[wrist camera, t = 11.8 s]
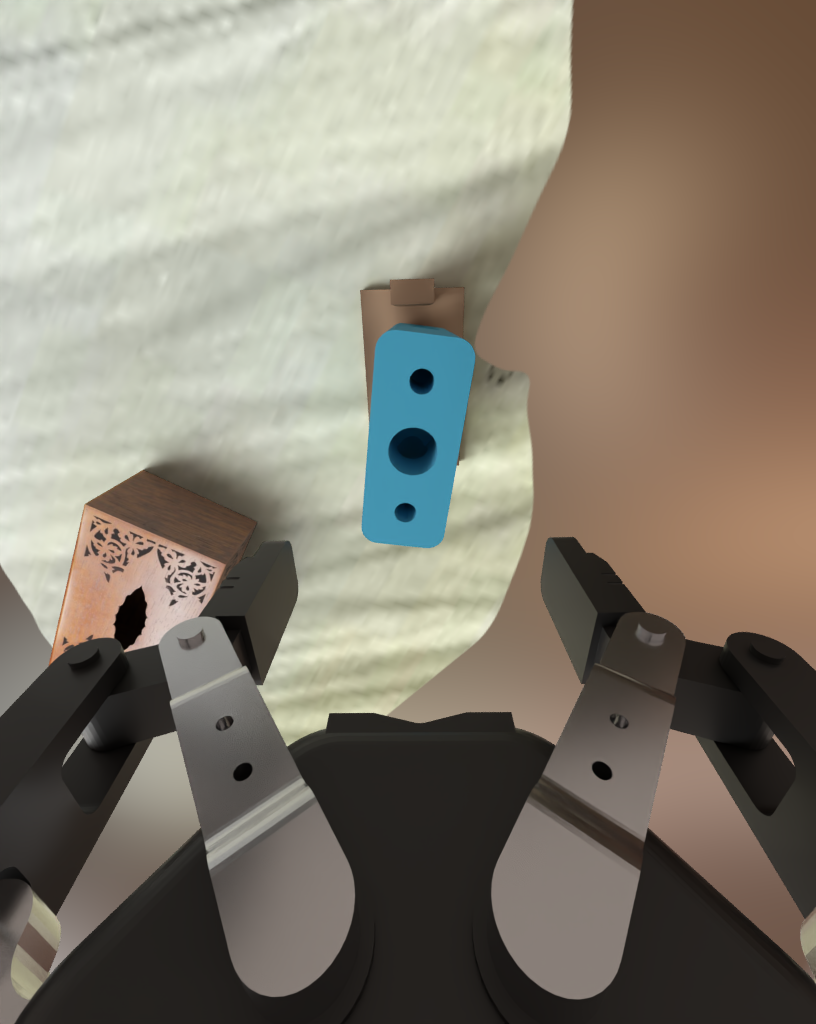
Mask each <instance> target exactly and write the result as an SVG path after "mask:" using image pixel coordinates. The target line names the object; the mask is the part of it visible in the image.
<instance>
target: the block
mask: <svg viewBox="0 0 816 1024" xmlns="http://www.w3.org/2000/svg"><path fill="white" fill-rule="evenodd" d="M474 365H475V353H474V350H473V348H472V346H471V345H470V344H469V342H467V341H466V340H464V339H462V338H460V337H459V336H457V335H455V334H453V333H451V332H449V331H448V330H446V329H444V328H438V327H431V326H423V325H415V324H407V323H398V324H396V325H394V326H393V327H392V328H390V329H389V330H388V331H386V332H385V333H384V334H382V335H381V337H380V338H379V339H378V341H377V343H376V347H375V356H374V370H373V383H372V396H371V410H370V423H369V436H368V450H367V463H366V476H365V490H364V503H363V516H362V532H363V534H364V536H365V537H366V538H367V539H368V540H370V541H372V542H376V543H384V544H393V545H403V546H412V547H422V548H431V547H435V546H437V545H438V544H439V543H441V541H442V540H443V537H444V533H445V527H446V522H447V516H448V510H449V505H450V499H451V494H452V488H453V482H454V477H455V471H456V466H457V460H458V454H459V449H460V443H461V438H462V432H463V426H464V421H465V415H466V409H467V404H468V398H469V393H470V387H471V381H472V376H473V370H474Z"/></svg>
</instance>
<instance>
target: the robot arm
mask: <svg viewBox="0 0 816 1024" xmlns="http://www.w3.org/2000/svg"><path fill="white" fill-rule="evenodd" d="M541 592H542V597H543V600H544V602H545V605H546V607H547V609H548V611H549V613H550V616H551V618H552V620H553V622H554V624H555V627H556V629H557V631H558V633H559V635H560V638H561V640H562V642H563V644H564V647H565V649H566V651H567V653H568V655H569V658H570V660H571V662H572V664H573V666H574V669H575V671H576V673H577V675H578V678H579V680H580V682H581V684H585V685H584V687H583V689H582V691H581V693H580V696H579V698H578V700H577V702H576V704H575V706H574V708H573V710H572V713H571V715H570V717H569V719H568V721H567V723H566V725H565V727H564V730H563V732H562V734H561V736H560V738H559V740H558V742H557V744H556V746H555V745H554V744H552V743H551V742H549V741H547V740H546V739H544V738H542V737H540V736H538V735H535V734H533V733H531V732H528V731H525V730H522V729H518V728H515V726H514V722H513V718H512V714H511V712H481V713H480V712H475V713H474V712H468V713H467V712H466V713H462V714H459V715H454V716H450V717H446V718H442V719H438V720H434V721H431V722H426V723H414V722H409V721H405V720H401V719H396V718H392V717H388V716H384V715H380V714H376V713H329V718H328V723H327V727H326V729H323V730H320V731H317V732H314V733H311V734H309V735H307V736H305V737H303V738H301V739H299V740H297V741H295V742H294V743H292V744H291V745H289V746H288V747H287V746H286V744H285V742H284V740H283V738H282V736H281V734H280V732H279V730H278V728H277V726H276V724H275V722H274V720H273V718H272V716H271V714H270V712H269V710H268V708H267V706H266V704H265V702H264V700H263V698H262V696H261V694H260V692H259V690H258V688H257V686H256V685H263V683H264V680H265V678H266V675H267V673H268V670H269V668H270V665H271V663H272V660H273V658H274V656H275V653H276V651H277V648H278V646H279V643H280V641H281V638H282V636H283V633H284V631H285V628H286V626H287V623H288V621H289V618H290V616H291V613H292V611H293V608H294V606H295V604H296V601H297V596H298V580H297V575H296V569H295V563H294V557H293V552H292V546H291V544H290V542H289V541H264V542H263V543H262V545H261V546H260V548H259V549H258V551H257V552H256V554H255V555H254V557H246V558H245V559H244V560H242V561H241V562H239V563H238V564H237V565H235V566H234V567H233V568H232V570H231V571H230V572H229V574H228V575H227V577H226V580H224V581H223V582H222V584H221V585H220V589H217V591H216V592H215V594H214V595H213V596H212V598H211V599H210V601H209V602H208V604H207V605H206V606H205V608H204V609H203V611H202V612H201V613H200V615H199V616H198V617H196V618H192V619H189V620H186V621H183V622H181V623H179V624H177V625H175V626H174V627H172V628H171V629H170V630H169V631H167V632H166V633H165V634H164V635H163V637H162V638H161V640H160V642H159V644H157V645H153V646H149V647H145V648H140V649H136V650H132V651H128V652H124V650H123V648H122V645H121V643H120V642H119V641H118V640H117V639H114V638H97V639H92V640H89V641H86V642H83V643H81V644H78V645H76V646H74V647H72V648H70V649H69V650H67V651H66V652H64V653H63V654H61V655H60V656H59V657H58V658H56V659H55V660H54V661H53V662H52V663H51V664H50V666H49V667H48V668H47V669H46V670H45V671H44V672H43V673H42V674H41V675H40V676H39V677H38V678H37V679H36V680H35V681H34V682H33V683H32V684H31V686H30V687H29V688H28V689H27V690H26V691H25V692H24V693H23V694H22V695H21V696H20V697H19V698H18V699H17V700H16V701H15V702H14V703H13V704H12V706H10V708H9V709H8V710H7V711H6V712H5V713H4V714H3V715H2V716H1V717H0V1024H816V671H815V670H814V669H813V668H812V667H811V666H810V665H809V664H808V663H807V662H806V661H805V660H804V659H803V658H802V657H801V656H800V655H799V654H797V653H796V652H795V651H794V650H792V649H791V648H789V647H788V646H786V645H784V644H783V643H781V642H779V641H777V640H774V639H772V638H769V637H766V636H763V635H759V634H756V633H750V632H738V633H734V634H731V635H730V636H729V637H728V638H727V640H726V643H725V645H724V647H720V646H714V645H710V644H705V643H700V642H695V641H691V640H687V639H685V636H684V634H683V633H682V632H681V630H680V629H679V628H678V627H677V626H676V625H674V624H673V623H671V622H670V621H668V620H666V619H664V618H662V617H660V616H657V615H654V614H650V613H646V612H645V611H644V609H643V608H642V607H641V605H640V604H639V603H638V601H637V600H636V599H635V598H634V596H633V595H632V594H631V592H630V591H629V590H628V588H627V587H626V586H625V585H624V584H622V581H621V579H620V578H619V577H618V576H617V575H615V572H614V571H613V569H612V568H611V567H610V565H609V564H608V563H607V562H606V561H604V560H603V559H602V558H600V557H598V556H597V555H595V554H594V553H586V552H585V551H584V549H583V548H582V546H581V545H580V544H579V543H578V541H577V540H576V539H575V538H574V537H559V538H558V537H554V538H548V540H547V542H546V548H545V555H544V562H543V568H542V576H541ZM670 729H673V730H677V731H680V732H684V733H687V734H691V735H695V736H696V738H697V740H698V741H699V743H700V745H701V746H702V748H703V750H704V751H705V753H706V754H707V756H708V758H709V760H710V761H711V763H712V764H713V766H714V768H715V770H716V771H717V773H718V775H719V776H720V778H721V779H722V781H723V783H724V785H725V786H726V788H727V790H728V791H729V793H730V795H731V796H732V798H733V800H734V801H735V803H736V805H737V806H738V808H739V810H740V811H741V813H742V815H743V816H744V818H745V820H746V821H747V823H748V825H749V826H750V828H751V830H752V831H753V833H754V835H755V836H756V838H757V840H758V841H759V843H760V845H761V846H762V848H763V850H764V851H765V853H766V854H767V856H768V858H769V860H770V861H771V863H772V865H773V866H774V868H775V870H776V871H777V873H778V875H779V876H780V878H781V880H782V881H783V883H784V885H785V886H786V888H787V890H788V891H789V893H790V895H791V896H792V898H793V900H794V901H795V903H796V905H797V906H798V908H799V910H800V911H801V913H802V915H803V917H804V918H805V920H804V922H803V923H802V926H801V930H800V932H801V933H800V939H801V945H802V949H803V952H804V955H805V958H806V960H807V962H808V964H809V966H810V969H811V971H812V973H813V975H814V980H813V979H812V978H811V977H810V976H809V975H808V974H807V973H806V972H805V971H804V970H803V969H802V968H801V967H800V966H799V965H798V964H797V963H796V962H795V961H794V960H793V959H792V958H791V957H790V956H789V955H788V954H786V953H785V952H784V951H783V950H782V949H781V948H780V947H779V946H778V945H777V944H775V943H774V942H773V941H772V940H771V939H770V938H769V937H768V936H767V935H766V934H764V933H763V932H762V931H761V930H760V929H759V928H758V927H757V926H756V925H754V923H752V922H751V921H750V920H749V919H748V918H747V917H746V916H745V915H744V914H743V913H741V912H740V911H739V910H738V909H737V908H736V907H735V906H734V905H733V904H732V903H730V902H729V901H728V900H727V899H726V898H725V897H724V896H723V895H721V893H719V892H718V891H717V890H716V889H715V888H714V887H713V886H712V885H710V883H708V882H707V881H706V880H705V879H704V878H703V877H702V876H701V875H700V874H699V873H697V872H696V871H695V870H694V869H693V868H692V867H691V866H690V865H689V864H687V863H686V862H685V861H684V860H683V859H682V858H681V857H680V856H679V855H678V854H676V853H675V852H674V851H673V850H672V849H671V848H670V847H669V846H668V845H666V844H665V843H664V842H663V841H662V840H661V839H660V838H659V837H658V836H657V835H655V834H654V833H653V832H652V831H651V830H650V829H649V828H648V823H649V819H650V815H651V811H652V806H653V802H654V797H655V792H656V788H657V784H658V779H659V775H660V770H661V766H662V761H663V757H664V752H665V747H666V743H667V739H668V734H669V730H670ZM174 731H177V734H178V738H179V742H180V746H181V750H182V754H183V758H184V762H185V766H186V770H187V774H188V778H189V782H190V786H191V790H192V794H193V798H194V802H195V806H196V810H197V814H198V818H199V822H200V826H201V828H200V829H199V830H198V831H197V832H196V833H195V834H194V835H193V836H192V837H191V838H190V839H188V840H187V841H186V842H185V843H184V844H183V845H182V846H181V847H180V848H179V849H178V850H177V851H176V852H175V853H174V854H173V855H172V856H171V857H170V858H169V859H168V860H167V861H166V862H164V864H162V865H161V866H160V867H159V868H158V869H157V870H156V871H155V872H154V873H153V874H152V875H151V876H150V877H149V878H148V879H147V880H146V881H145V882H144V883H143V884H142V885H141V886H140V887H138V889H137V890H135V891H134V892H133V893H132V894H131V895H130V896H129V897H128V898H127V899H126V900H125V901H124V902H123V903H122V904H121V905H120V906H119V907H118V908H117V909H116V910H115V911H113V913H111V914H110V915H109V916H108V917H107V918H106V919H105V920H104V921H103V922H102V923H101V924H100V925H99V926H98V927H97V928H96V929H95V930H94V931H93V932H92V933H91V934H89V935H88V936H87V938H85V939H84V940H83V941H82V942H81V943H80V944H79V945H78V946H77V947H76V948H75V949H74V950H73V951H72V952H71V953H70V954H69V955H68V956H67V957H66V958H65V959H64V960H63V961H62V962H61V963H60V964H59V965H58V966H57V967H56V968H55V969H54V971H53V972H52V973H51V974H50V972H49V970H50V968H51V966H52V963H53V960H54V958H55V956H56V953H57V950H58V947H59V943H60V937H61V927H60V923H59V920H58V918H57V917H56V915H57V913H58V911H59V909H60V908H61V906H62V904H63V902H64V900H65V898H66V896H67V895H68V893H69V891H70V889H71V887H72V886H73V884H74V882H75V880H76V878H77V876H78V875H79V873H80V870H81V869H82V867H83V865H84V864H85V862H86V860H87V858H88V856H89V854H90V853H91V851H92V849H93V847H94V845H95V844H96V842H97V840H98V838H99V836H100V834H101V832H102V831H103V829H104V827H105V825H106V823H107V822H108V820H109V818H110V816H111V814H112V812H113V810H114V809H115V807H116V805H117V803H118V801H119V800H120V797H121V796H122V794H123V792H124V790H125V788H126V787H127V785H128V783H129V781H130V779H131V777H132V776H133V774H134V772H135V770H136V768H137V767H138V765H139V763H140V761H141V759H142V758H143V756H144V754H145V752H146V750H147V748H148V746H149V745H150V743H151V741H152V739H153V737H156V736H160V735H164V734H167V733H170V732H174ZM81 734H82V736H83V739H82V740H81V742H80V743H79V744H78V746H77V747H76V749H75V750H74V752H73V753H72V754H71V756H70V757H69V758H68V760H67V761H66V763H65V764H64V765H63V762H64V759H65V757H66V755H67V753H68V752H69V750H70V749H71V747H72V746H73V744H74V743H75V742H76V740H77V739H78V738H79V736H80V735H81ZM774 734H775V735H776V737H777V738H778V739H779V740H780V742H781V743H782V744H783V745H784V747H785V748H786V749H787V751H788V752H789V754H790V755H791V757H792V760H793V762H794V765H795V767H794V765H793V764H792V763H791V761H790V760H789V759H788V758H787V756H786V755H785V754H784V752H783V751H782V750H781V749H780V747H779V746H778V745H777V743H776V742H775V741H774V739H773V738H772V737H773V735H774ZM62 765H63V767H62Z"/></svg>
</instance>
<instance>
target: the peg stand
mask: <svg viewBox="0 0 816 1024" xmlns="http://www.w3.org/2000/svg"><path fill="white" fill-rule="evenodd" d="M360 293H361V308H362V323H363V338H364V353H365V367H366V382H367V397H368V412H369V423H370V410H371V396H372V383H373V370H374V356H375V347H376V343H377V341H378V339H379V338H380V337H381V335H382V334H384V333H385V332H386V331H388V330H389V329H390V328H392V327H393V326H394V325H396V324H398V323H407V324H415V325H423V326H431V327H438V328H444V329H446V330H448V331H449V332H451V333H453V334H455V335H457V336H459V337H460V338H462V339H463V318H464V287H454V288H434V279H402V280H390V289H385V290H360ZM457 465H459V454H458V460H457Z"/></svg>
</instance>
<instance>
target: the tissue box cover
mask: <svg viewBox="0 0 816 1024" xmlns="http://www.w3.org/2000/svg"><path fill="white" fill-rule="evenodd" d="M256 524H257V522H256V521H254V520H252V519H249V518H247V517H245V516H243V515H241V514H239V513H236V512H234V511H232V510H230V509H228V508H225V507H223V506H221V505H219V504H217V503H214V502H212V501H210V500H208V499H206V498H204V497H201V496H199V495H197V494H195V493H193V492H190V491H188V490H186V489H184V488H182V487H180V486H177V485H175V484H173V483H171V482H169V481H166V480H164V479H162V478H160V477H158V476H155V475H153V474H151V473H149V472H147V471H145V470H142V471H140V472H139V473H137V474H135V475H134V476H132V477H130V478H129V479H127V480H125V481H123V482H122V483H120V484H118V485H117V486H115V487H113V488H112V489H110V490H108V491H106V492H105V493H103V494H101V495H100V496H98V497H96V498H95V499H93V500H91V501H89V502H88V503H86V504H85V505H84V510H83V514H82V519H81V523H80V528H79V532H78V537H77V541H76V546H75V550H74V555H73V559H72V564H71V568H70V573H69V577H68V582H67V586H66V590H65V595H64V599H63V604H62V608H61V613H60V617H59V622H58V626H57V631H56V635H55V640H54V644H53V649H52V653H51V658H50V662H49V666H50V664H51V663H52V662H53V661H54V660H55V659H56V658H58V657H59V656H60V655H61V654H63V653H64V652H66V651H67V650H69V649H70V648H72V647H74V646H76V645H78V644H81V643H83V642H86V641H89V640H92V639H97V638H114V639H117V640H118V641H119V642H120V643H121V645H122V648H123V650H124V652H128V651H132V650H136V649H140V648H145V647H149V646H153V645H157V644H159V642H160V640H161V638H162V637H163V635H164V634H165V633H166V632H167V631H169V630H170V629H171V628H172V627H174V626H175V625H177V624H179V623H181V622H183V621H186V620H189V619H192V618H196V617H198V616H199V615H200V613H201V612H202V611H203V609H204V608H205V606H206V605H207V604H208V602H209V601H210V599H211V598H212V596H213V595H214V594H215V592H216V591H217V589H220V585H221V584H222V582H223V581H224V580H226V577H227V575H228V574H229V572H230V571H231V570H232V568H233V567H234V566H235V565H237V564H238V563H239V562H240V560H241V558H242V556H243V554H244V551H245V549H246V547H247V545H248V542H249V540H250V538H251V536H252V533H253V531H254V529H255V526H256Z"/></svg>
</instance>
